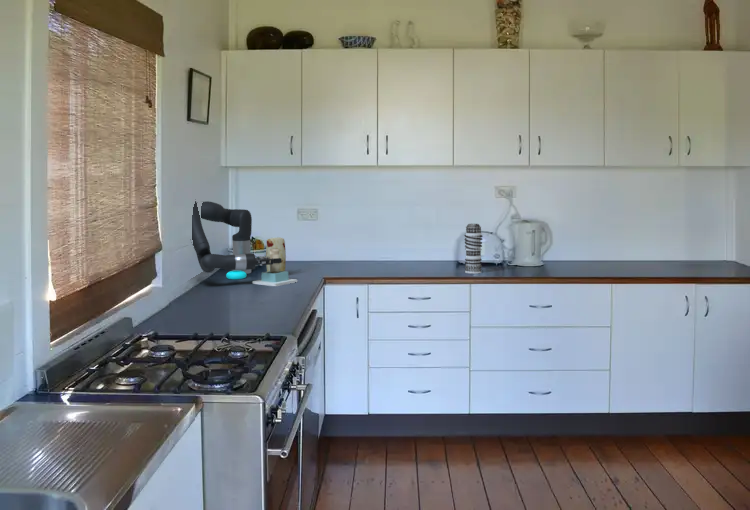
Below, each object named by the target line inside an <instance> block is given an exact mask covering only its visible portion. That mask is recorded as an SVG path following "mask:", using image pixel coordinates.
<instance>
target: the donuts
mask: <svg viewBox="0 0 750 510" xmlns="http://www.w3.org/2000/svg"><path fill="white" fill-rule="evenodd" d="M225 276H226V279H229V280H242V279H245V278H247V274H246V273H245V272H244V271H240V270H236V271H232V270H229V271H228V272H227V273H226V274H225Z"/></svg>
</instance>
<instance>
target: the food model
mask: <svg viewBox="0 0 750 510" xmlns="http://www.w3.org/2000/svg"><path fill="white" fill-rule="evenodd" d="M265 246H266V248H265V256H266V257H270V249H274V248H276V249H279V258H281V259H282V262H281V263H279V271H286V266H287V265H286V263H287V260H286V258H287V255H286V253H287V252H286V241H285V238H283V237H279V236H277V237H270V238H267V240H266V245H265ZM265 266H266V272H268V271H270V265H265Z"/></svg>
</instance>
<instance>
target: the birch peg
mask: <svg viewBox="0 0 750 510" xmlns="http://www.w3.org/2000/svg"><path fill="white" fill-rule="evenodd" d="M270 258H273V259H276V258H279V249H276V248H274V249H270ZM270 263H271V260H270ZM270 273H279V263H274V264H272V265H270Z"/></svg>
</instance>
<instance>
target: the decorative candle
mask: <svg viewBox="0 0 750 510" xmlns="http://www.w3.org/2000/svg"><path fill="white" fill-rule="evenodd" d="M465 228H466V229H465V234H464V244H465V245H464V247H465V249H464V250H465V259H464V260H465V261H464V263H465V265H464V270H465V271H464V272H465V273H466V274H481V273H482V264H483V263H482V255H481V254H482V247H483V245H482V244H483V242H482V240H483V235H482V226H481V225H480V224H479V223H468V224H467V225H466V226H465Z"/></svg>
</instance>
